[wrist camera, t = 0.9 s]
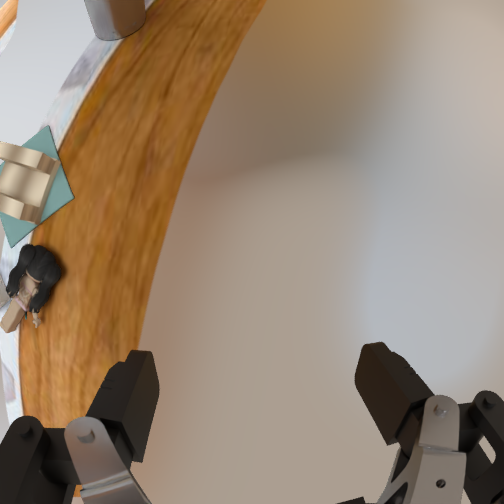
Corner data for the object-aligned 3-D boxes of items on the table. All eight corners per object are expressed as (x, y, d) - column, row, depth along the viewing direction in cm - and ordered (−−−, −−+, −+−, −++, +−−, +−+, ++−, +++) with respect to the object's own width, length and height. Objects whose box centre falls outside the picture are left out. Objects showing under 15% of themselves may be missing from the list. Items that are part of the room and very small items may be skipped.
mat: (-9, 175, 26) (-11, 175, 26) (49, 126, 29) (48, 125, 28) (12, 247, 28) (10, 247, 28) (74, 198, 30) (73, 197, 30)
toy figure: (36, 346, 30) (72, 265, 30) (13, 359, 23) (46, 267, 24) (8, 316, 29) (41, 234, 30) (-16, 323, 23) (14, 231, 24)
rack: (-4, 206, 27) (-25, 202, 21) (16, 149, 27) (-3, 138, 22) (39, 225, 29) (19, 222, 24) (61, 162, 29) (43, 150, 24)
